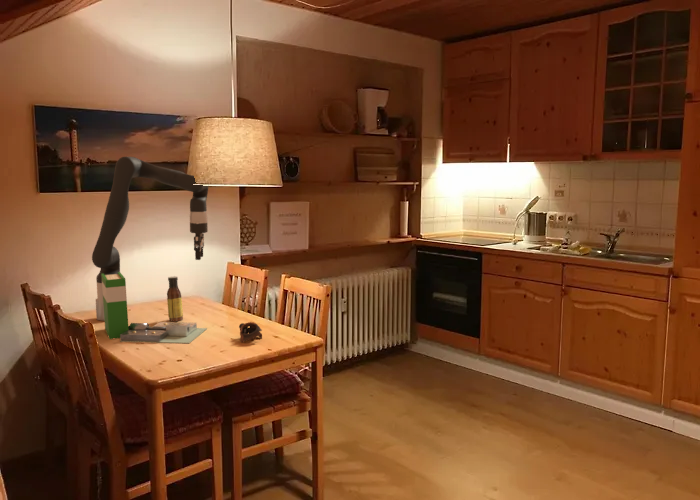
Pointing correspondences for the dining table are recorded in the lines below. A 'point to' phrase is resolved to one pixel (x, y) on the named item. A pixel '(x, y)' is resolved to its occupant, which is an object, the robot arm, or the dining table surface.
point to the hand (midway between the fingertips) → (199, 258)
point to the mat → (178, 337)
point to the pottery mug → (249, 331)
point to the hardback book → (115, 304)
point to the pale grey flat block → (177, 328)
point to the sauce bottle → (174, 300)
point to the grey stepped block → (143, 333)
